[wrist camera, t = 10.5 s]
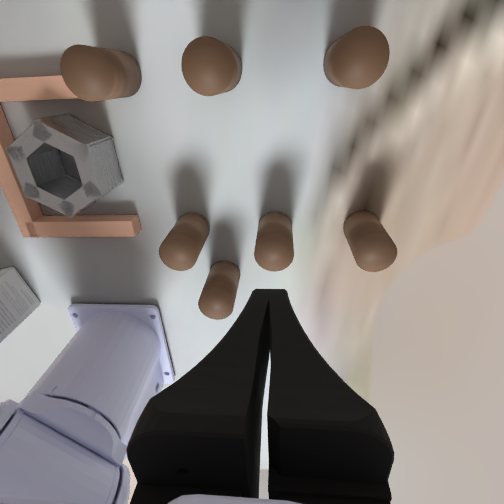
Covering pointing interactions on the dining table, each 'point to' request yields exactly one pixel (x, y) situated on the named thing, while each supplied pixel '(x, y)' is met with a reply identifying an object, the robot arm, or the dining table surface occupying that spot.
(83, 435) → the robot arm
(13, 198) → the parts bay
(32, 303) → the skincare box
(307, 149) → the dining table surface
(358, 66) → the walnut spacers
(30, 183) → the steel nut
